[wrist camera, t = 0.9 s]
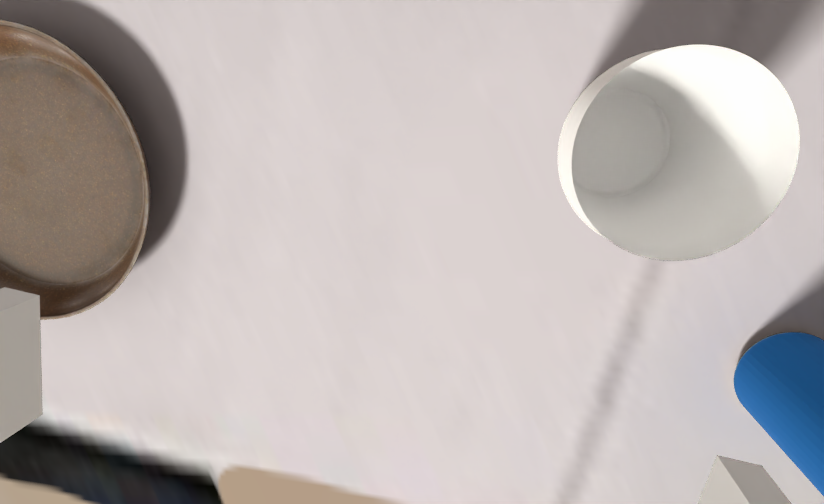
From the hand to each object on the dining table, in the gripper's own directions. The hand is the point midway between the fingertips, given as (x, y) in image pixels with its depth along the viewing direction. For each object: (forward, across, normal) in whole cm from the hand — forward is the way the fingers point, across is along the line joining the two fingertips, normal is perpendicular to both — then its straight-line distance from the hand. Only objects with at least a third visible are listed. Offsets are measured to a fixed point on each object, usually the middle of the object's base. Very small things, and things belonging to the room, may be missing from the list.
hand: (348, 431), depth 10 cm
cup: (+26, +9, +6) cm, 29 cm away
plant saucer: (+27, -30, -4) cm, 40 cm away
